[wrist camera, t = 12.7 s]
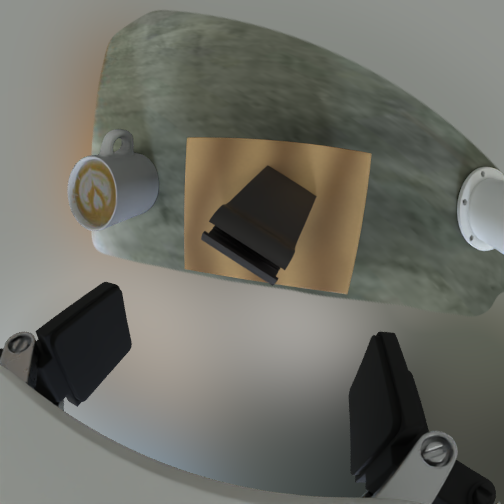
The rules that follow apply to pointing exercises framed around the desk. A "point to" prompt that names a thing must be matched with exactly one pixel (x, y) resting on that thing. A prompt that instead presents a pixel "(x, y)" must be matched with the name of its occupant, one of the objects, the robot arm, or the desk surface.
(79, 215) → the coffee mug
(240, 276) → the oak board
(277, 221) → the phone stand
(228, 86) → the desk surface
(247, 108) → the desk surface
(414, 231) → the desk surface
